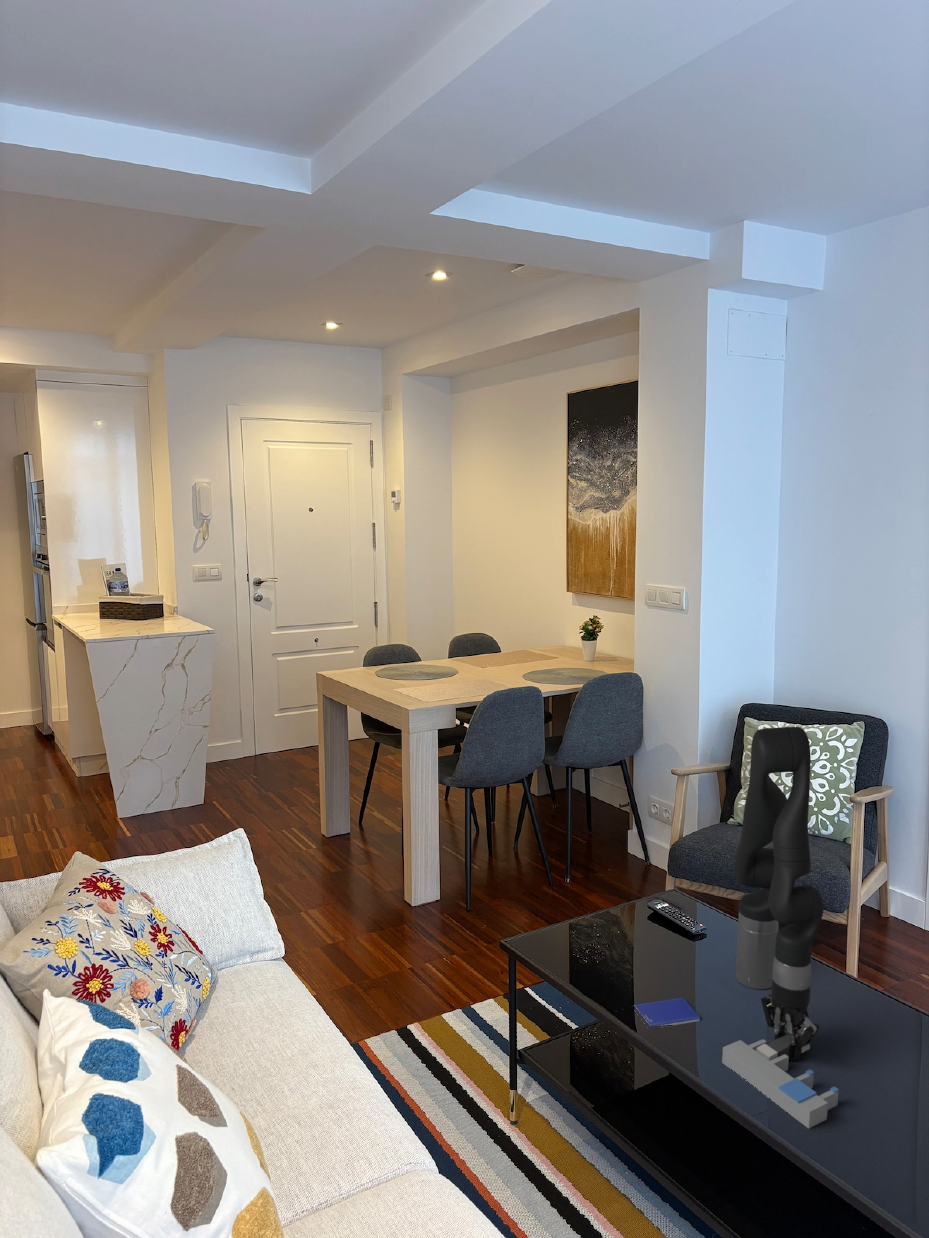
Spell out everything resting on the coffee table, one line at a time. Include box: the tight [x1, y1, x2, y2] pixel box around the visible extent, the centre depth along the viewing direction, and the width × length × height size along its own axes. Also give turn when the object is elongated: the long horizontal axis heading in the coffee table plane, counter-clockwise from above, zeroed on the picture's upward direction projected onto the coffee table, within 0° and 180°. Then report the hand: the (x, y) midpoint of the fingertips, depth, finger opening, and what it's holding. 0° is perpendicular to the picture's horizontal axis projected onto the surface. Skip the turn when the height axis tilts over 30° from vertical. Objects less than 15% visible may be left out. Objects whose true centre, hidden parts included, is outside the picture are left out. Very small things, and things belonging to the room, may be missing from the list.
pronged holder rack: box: [721, 1038, 840, 1130], centre depth 180 cm, size 10×22×4 cm, turn 29°
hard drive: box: [633, 997, 701, 1026], centre depth 204 cm, size 2×8×12 cm
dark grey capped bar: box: [756, 1031, 811, 1061], centre depth 189 cm, size 12×3×3 cm, turn 119°
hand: (786, 1053), depth 190 cm, fingers closed on dark grey capped bar, 3 cm apart
